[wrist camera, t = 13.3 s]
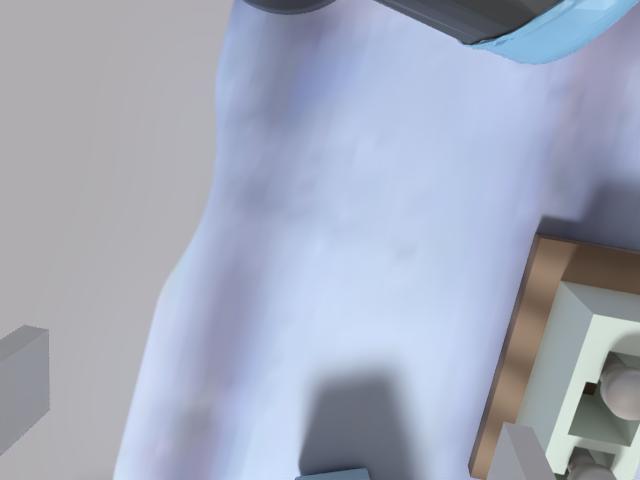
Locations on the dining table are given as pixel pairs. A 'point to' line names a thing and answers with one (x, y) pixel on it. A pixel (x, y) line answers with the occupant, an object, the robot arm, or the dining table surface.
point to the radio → (339, 475)
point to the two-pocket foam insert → (583, 379)
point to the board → (526, 333)
